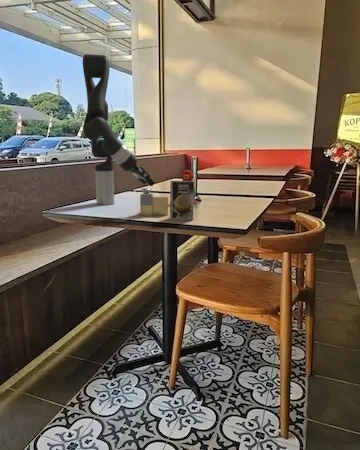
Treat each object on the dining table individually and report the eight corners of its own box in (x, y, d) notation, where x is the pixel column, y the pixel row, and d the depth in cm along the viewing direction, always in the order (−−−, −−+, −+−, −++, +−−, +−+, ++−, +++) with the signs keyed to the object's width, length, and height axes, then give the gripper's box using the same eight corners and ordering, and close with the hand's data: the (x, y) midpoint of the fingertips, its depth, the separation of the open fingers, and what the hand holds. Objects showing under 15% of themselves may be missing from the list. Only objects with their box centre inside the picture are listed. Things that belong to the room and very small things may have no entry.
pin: (143, 213, 168) (143, 188, 165) (153, 213, 166) (152, 188, 164) (139, 215, 163) (139, 189, 161) (149, 215, 162) (149, 189, 160)
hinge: (144, 210, 174) (144, 191, 172) (169, 211, 173) (169, 192, 172) (140, 215, 162) (140, 195, 160) (167, 215, 162) (167, 195, 160)
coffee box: (172, 221, 151) (172, 181, 148) (169, 218, 157) (169, 180, 154) (193, 220, 153) (194, 181, 149) (190, 217, 159) (190, 180, 156)
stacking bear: (174, 203, 197) (174, 170, 193) (180, 200, 206) (180, 169, 202) (194, 204, 194) (194, 170, 190) (198, 201, 203) (199, 169, 199)
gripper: (135, 151, 149) (161, 179, 157) (124, 150, 161) (148, 176, 169) (123, 165, 148) (150, 192, 156) (113, 163, 160) (138, 188, 168)
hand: (149, 183), depth 162 cm, fingers open, 8 cm apart
